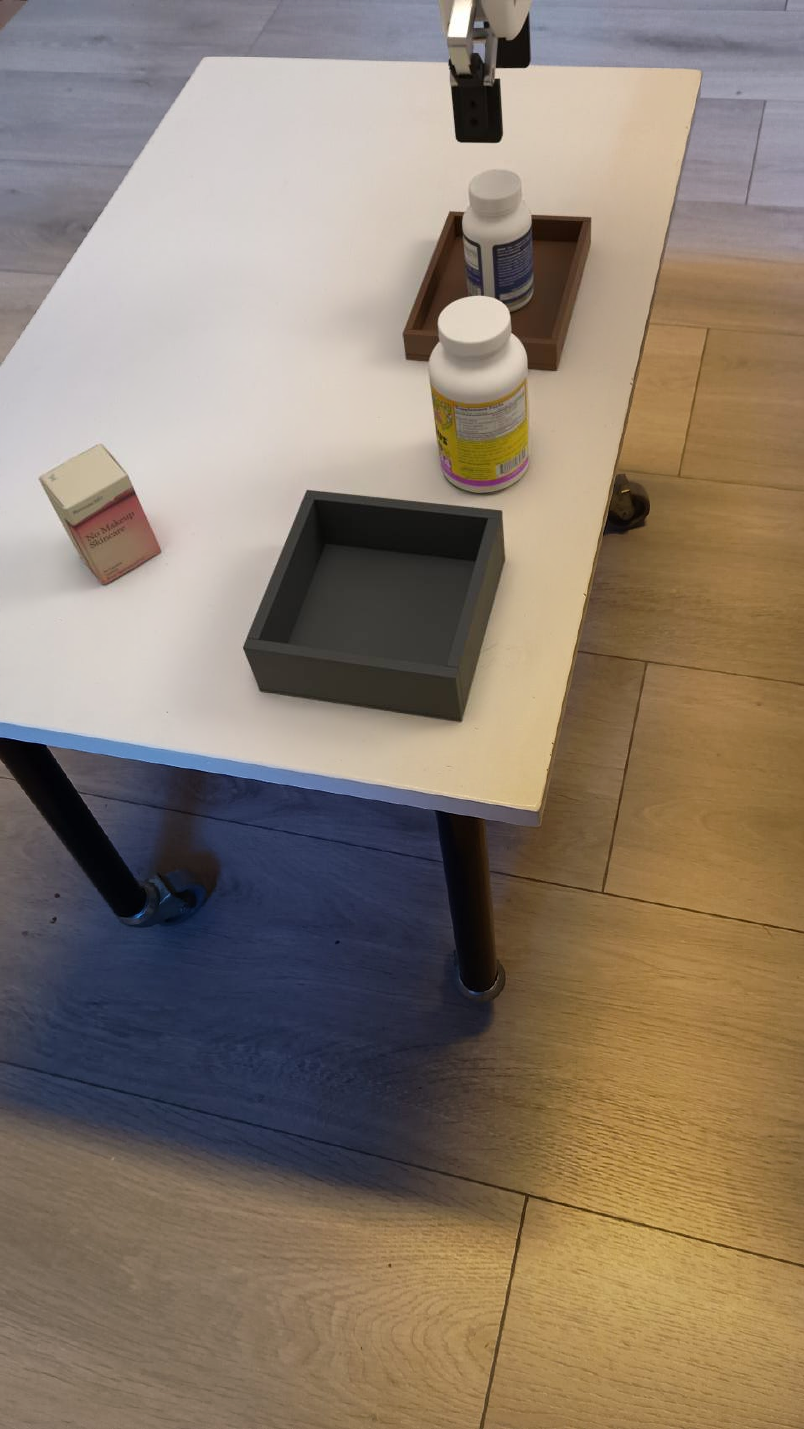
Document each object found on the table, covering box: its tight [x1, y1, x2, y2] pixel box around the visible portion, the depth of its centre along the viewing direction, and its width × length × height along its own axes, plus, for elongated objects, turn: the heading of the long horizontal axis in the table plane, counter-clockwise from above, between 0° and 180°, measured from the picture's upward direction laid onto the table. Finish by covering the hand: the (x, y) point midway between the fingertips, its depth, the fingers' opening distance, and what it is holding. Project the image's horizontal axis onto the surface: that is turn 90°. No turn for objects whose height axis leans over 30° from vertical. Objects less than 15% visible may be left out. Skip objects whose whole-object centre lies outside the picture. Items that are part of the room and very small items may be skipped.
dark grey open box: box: [242, 489, 506, 723], centre depth 73 cm, size 14×14×5 cm
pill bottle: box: [462, 168, 534, 312], centre depth 87 cm, size 5×5×10 cm
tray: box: [402, 210, 592, 371], centre depth 91 cm, size 16×12×2 cm
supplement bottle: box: [427, 296, 531, 494], centre depth 76 cm, size 7×7×13 cm
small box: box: [38, 443, 162, 585], centre depth 78 cm, size 5×4×8 cm
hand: (494, 102), depth 78 cm, fingers open, 9 cm apart
